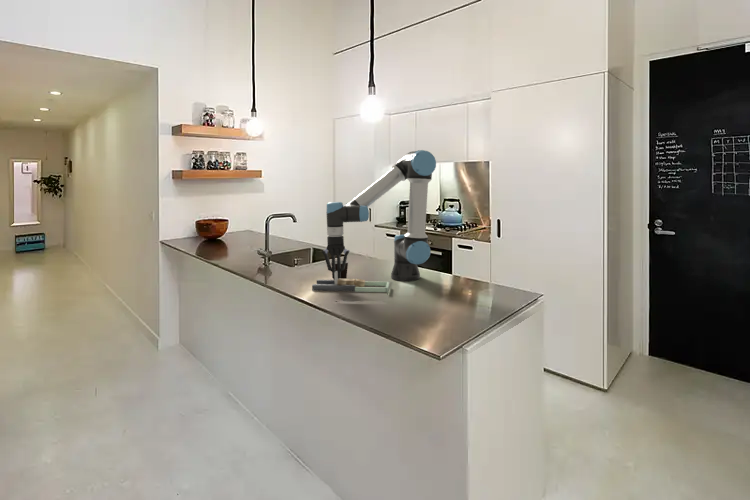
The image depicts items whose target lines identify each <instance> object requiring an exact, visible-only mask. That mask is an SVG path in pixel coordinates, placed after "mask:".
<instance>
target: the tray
mask: <svg viewBox="0 0 750 500" xmlns="http://www.w3.org/2000/svg"><path fill="white" fill-rule="evenodd" d="M365 286H366V287H365ZM365 286H364V287H355V291H354V292H356V293H357V292H358V293H359V292H365V293H369V292H370V293H386V295H388V294H389V291H390V281H365ZM374 286H375V287H374Z"/></svg>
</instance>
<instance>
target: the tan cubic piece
mask: <svg viewBox="0 0 750 500" xmlns="http://www.w3.org/2000/svg"><path fill="white" fill-rule="evenodd" d="M347 279H348V278H347ZM347 279H338V280H337V284H340V285H346V280H347Z"/></svg>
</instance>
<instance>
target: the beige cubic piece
mask: <svg viewBox="0 0 750 500" xmlns="http://www.w3.org/2000/svg"><path fill="white" fill-rule="evenodd" d="M365 281H366V279H361V278H356V283H355V285H356V287H365Z"/></svg>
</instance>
